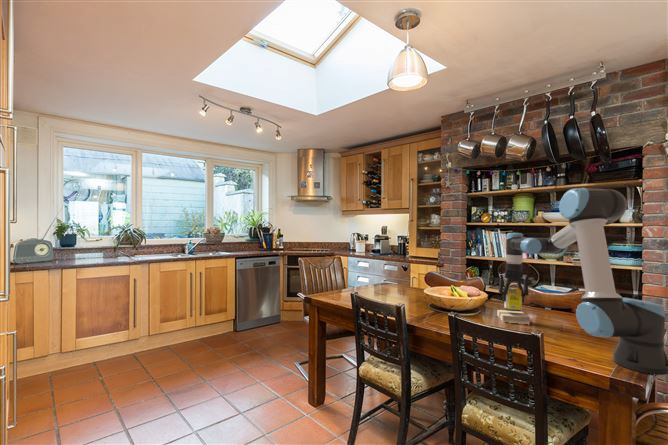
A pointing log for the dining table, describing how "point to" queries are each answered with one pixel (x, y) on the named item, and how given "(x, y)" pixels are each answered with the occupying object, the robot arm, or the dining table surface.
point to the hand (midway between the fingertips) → (512, 308)
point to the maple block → (513, 317)
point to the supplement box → (514, 299)
